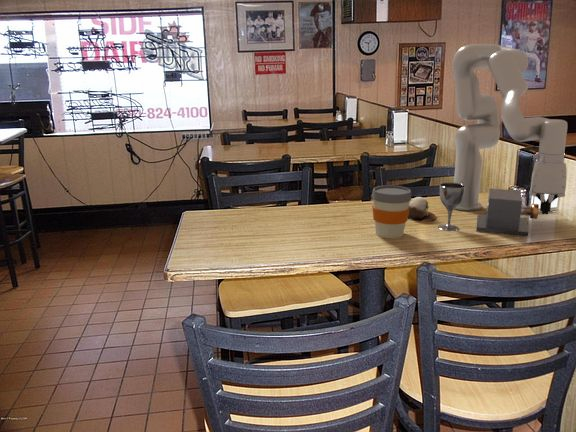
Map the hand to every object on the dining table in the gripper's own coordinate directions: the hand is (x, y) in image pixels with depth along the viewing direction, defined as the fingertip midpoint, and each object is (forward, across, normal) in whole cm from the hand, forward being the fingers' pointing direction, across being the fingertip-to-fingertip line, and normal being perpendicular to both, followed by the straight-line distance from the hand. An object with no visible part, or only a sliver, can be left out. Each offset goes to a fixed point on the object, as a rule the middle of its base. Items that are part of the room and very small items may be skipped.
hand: (544, 213), depth 179 cm
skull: (+6, -41, +4) cm, 42 cm away
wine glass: (+6, -30, -6) cm, 31 cm away
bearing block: (+6, -13, +1) cm, 14 cm away
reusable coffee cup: (+6, -48, -19) cm, 52 cm away
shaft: (+2, -10, +1) cm, 10 cm away
